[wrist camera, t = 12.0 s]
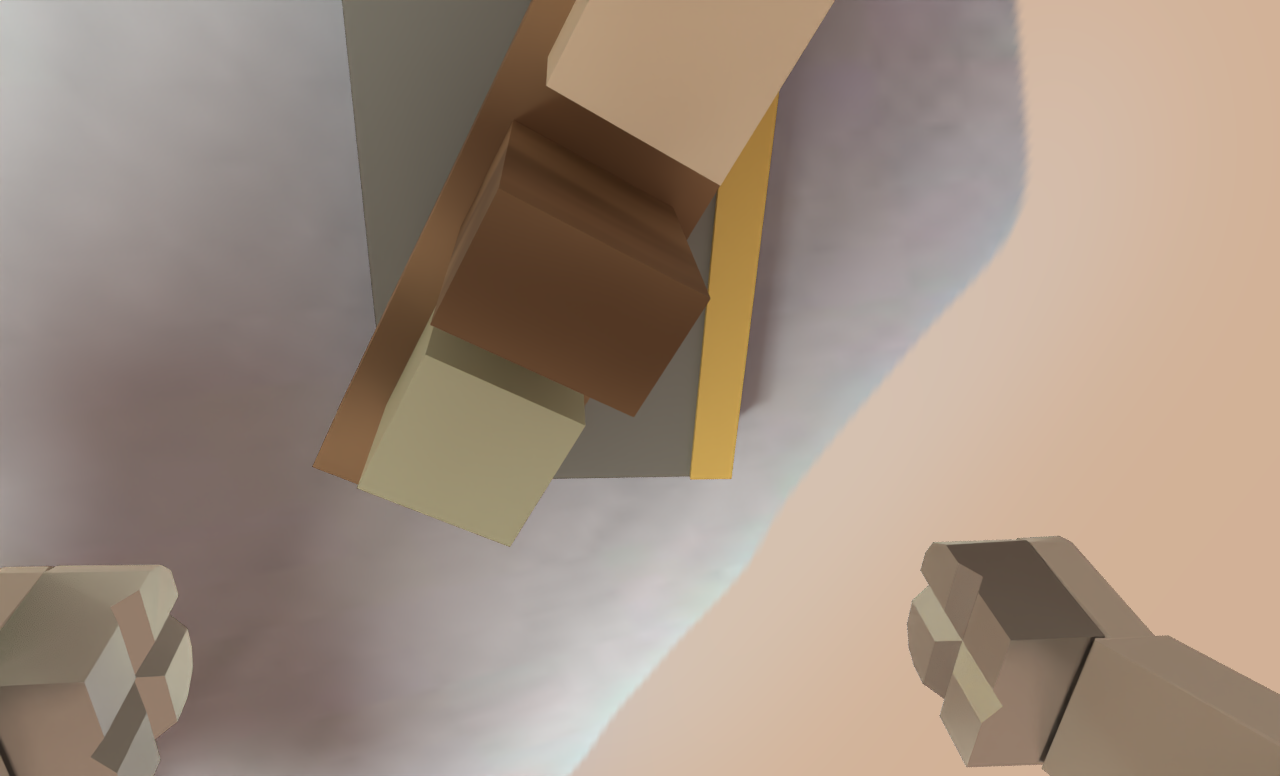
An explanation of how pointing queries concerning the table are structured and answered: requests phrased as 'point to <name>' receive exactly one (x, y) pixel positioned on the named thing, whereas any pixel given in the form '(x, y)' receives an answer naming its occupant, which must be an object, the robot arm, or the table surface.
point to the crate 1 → (471, 437)
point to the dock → (420, 164)
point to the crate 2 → (682, 69)
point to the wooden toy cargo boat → (542, 252)
